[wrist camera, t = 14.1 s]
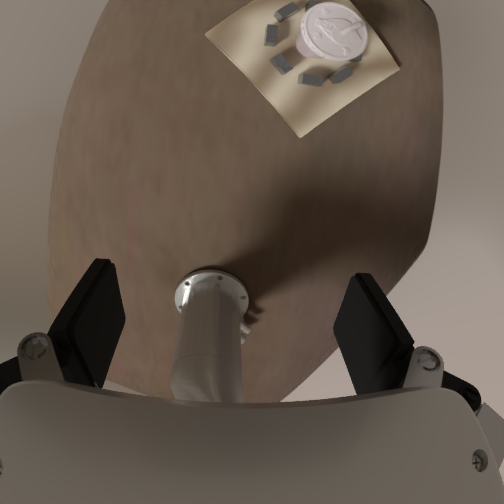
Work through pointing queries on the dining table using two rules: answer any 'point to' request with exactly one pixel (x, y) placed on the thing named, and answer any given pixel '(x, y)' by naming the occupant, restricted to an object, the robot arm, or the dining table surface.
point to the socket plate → (297, 63)
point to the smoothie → (332, 33)
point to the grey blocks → (284, 65)
